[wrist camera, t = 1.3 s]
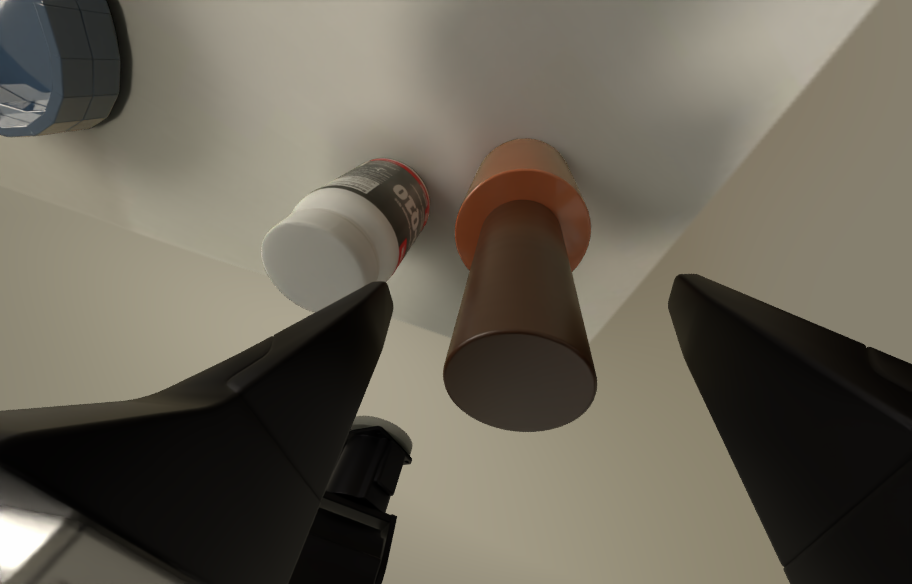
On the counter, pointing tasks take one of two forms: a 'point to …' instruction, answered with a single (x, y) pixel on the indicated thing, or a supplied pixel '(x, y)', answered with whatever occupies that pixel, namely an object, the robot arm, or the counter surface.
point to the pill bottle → (347, 233)
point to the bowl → (56, 66)
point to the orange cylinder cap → (524, 194)
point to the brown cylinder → (520, 327)
